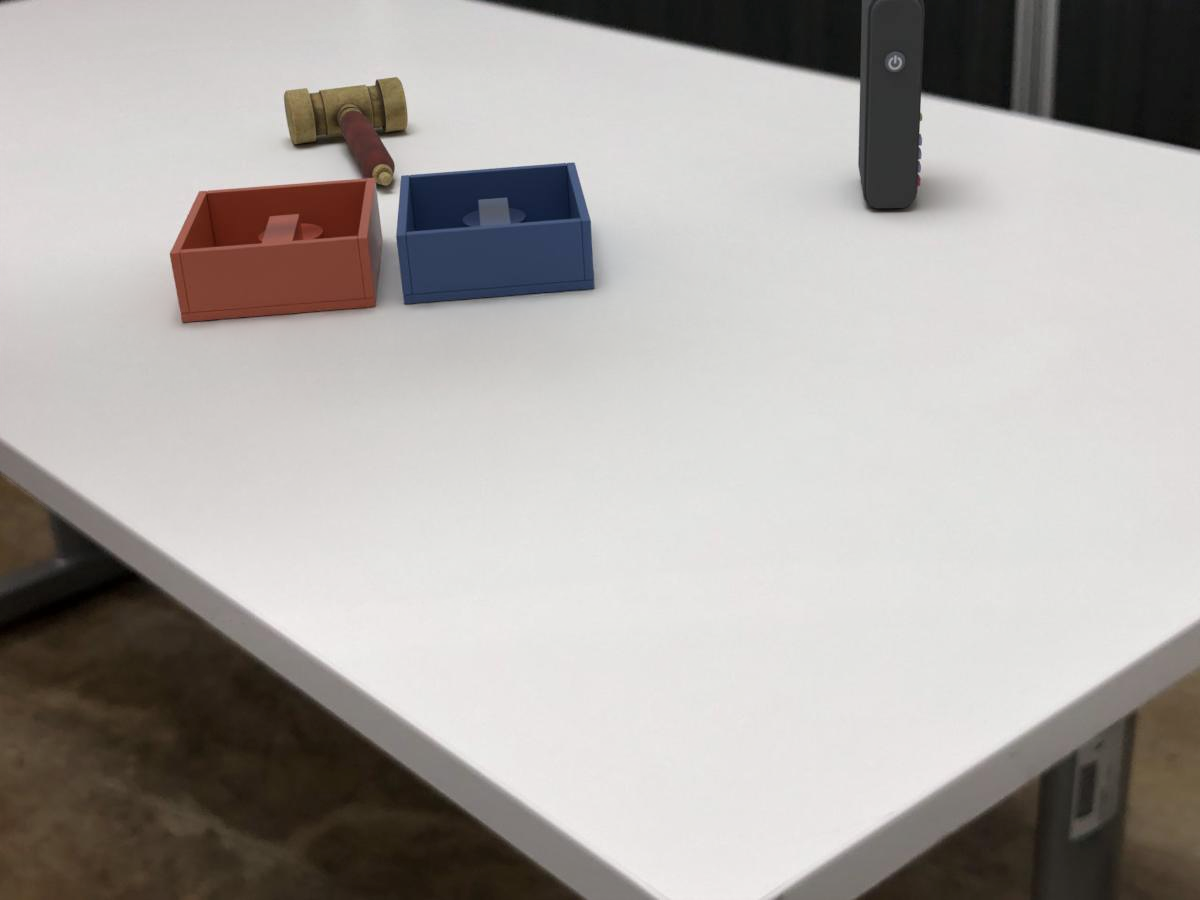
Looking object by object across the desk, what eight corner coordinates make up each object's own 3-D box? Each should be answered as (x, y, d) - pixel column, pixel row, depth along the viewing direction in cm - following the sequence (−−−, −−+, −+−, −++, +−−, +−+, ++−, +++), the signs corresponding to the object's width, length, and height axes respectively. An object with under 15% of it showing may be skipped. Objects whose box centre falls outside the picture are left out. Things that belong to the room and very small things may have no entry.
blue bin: (404, 304, 100) (396, 235, 98) (407, 238, 112) (400, 175, 110) (594, 288, 100) (590, 219, 98) (578, 224, 112) (574, 162, 110)
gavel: (447, 144, 121) (318, 161, 119) (452, 200, 123) (325, 218, 121) (394, 70, 138) (281, 84, 136) (399, 120, 141) (288, 135, 138)
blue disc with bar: (534, 277, 101) (530, 225, 100) (466, 282, 101) (461, 230, 99) (526, 226, 111) (522, 178, 109) (463, 231, 110) (459, 183, 109)
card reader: (921, 212, 111) (930, -5, 104) (863, 214, 111) (868, -3, 104) (911, 174, 119) (918, -29, 112) (857, 176, 119) (861, -27, 112)
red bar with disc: (318, 295, 100) (310, 242, 99) (248, 300, 100) (240, 248, 99) (328, 242, 110) (321, 194, 108) (264, 247, 109) (257, 199, 108)
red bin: (182, 322, 99) (169, 253, 97) (209, 254, 111) (198, 191, 109) (375, 306, 100) (367, 237, 98) (382, 240, 111) (375, 177, 109)
